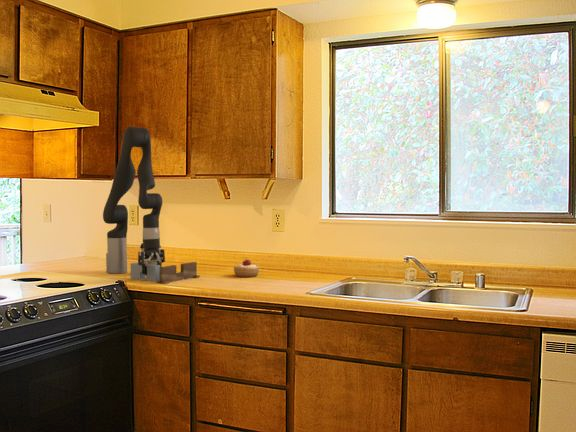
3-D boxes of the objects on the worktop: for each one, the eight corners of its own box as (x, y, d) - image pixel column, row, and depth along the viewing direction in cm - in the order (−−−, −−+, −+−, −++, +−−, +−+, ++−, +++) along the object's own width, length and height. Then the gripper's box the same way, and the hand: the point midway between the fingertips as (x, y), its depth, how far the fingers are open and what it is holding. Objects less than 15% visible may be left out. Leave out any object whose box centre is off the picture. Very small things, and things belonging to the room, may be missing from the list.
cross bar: (130, 278, 286) (130, 263, 286) (135, 277, 289) (135, 262, 288) (155, 281, 277) (155, 265, 277) (160, 280, 280) (160, 265, 280)
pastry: (261, 275, 298) (262, 257, 298) (255, 278, 287) (256, 259, 286) (237, 274, 300) (238, 255, 300) (230, 277, 289) (231, 258, 288)
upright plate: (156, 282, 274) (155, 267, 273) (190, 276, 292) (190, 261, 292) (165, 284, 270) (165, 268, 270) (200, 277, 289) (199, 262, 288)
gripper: (156, 236, 288) (157, 271, 288) (133, 238, 276) (134, 274, 277) (168, 236, 284) (169, 272, 284) (145, 239, 272) (146, 276, 272)
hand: (152, 273), depth 280 cm, fingers open, 8 cm apart
